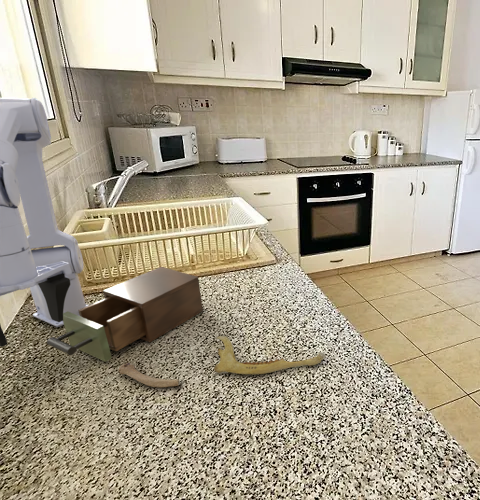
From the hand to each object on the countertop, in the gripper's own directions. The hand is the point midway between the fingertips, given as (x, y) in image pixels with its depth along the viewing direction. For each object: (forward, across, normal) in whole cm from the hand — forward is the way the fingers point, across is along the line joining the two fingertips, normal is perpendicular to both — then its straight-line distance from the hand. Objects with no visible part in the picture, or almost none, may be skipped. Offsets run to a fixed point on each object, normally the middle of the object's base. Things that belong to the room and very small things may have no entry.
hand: (31, 331), depth 59 cm
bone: (+10, +8, -14) cm, 19 cm away
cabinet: (+10, +22, 0) cm, 24 cm away
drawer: (+9, +11, 0) cm, 14 cm away
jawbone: (+10, +21, -28) cm, 36 cm away
